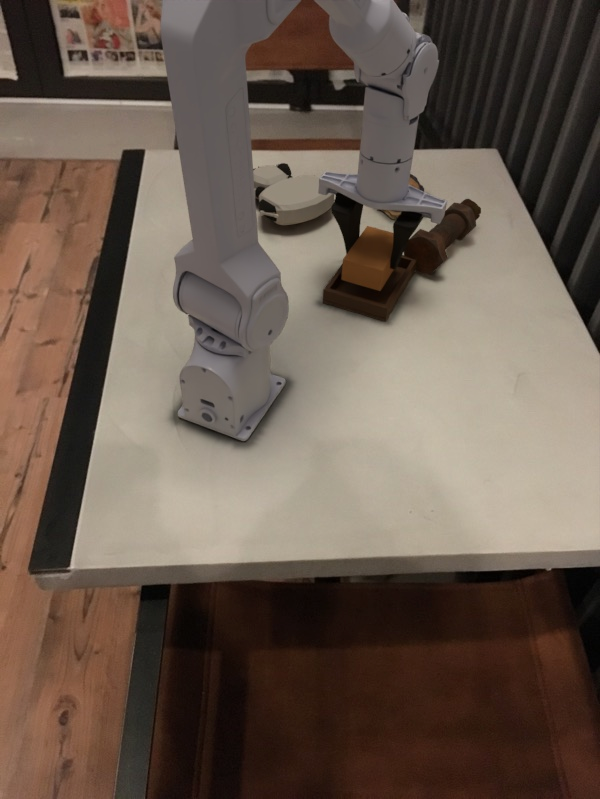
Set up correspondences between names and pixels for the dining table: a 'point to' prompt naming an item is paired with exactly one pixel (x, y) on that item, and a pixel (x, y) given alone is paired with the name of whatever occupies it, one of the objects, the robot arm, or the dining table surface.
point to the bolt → (442, 236)
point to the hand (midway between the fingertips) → (373, 258)
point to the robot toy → (288, 195)
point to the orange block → (369, 259)
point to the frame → (370, 292)
